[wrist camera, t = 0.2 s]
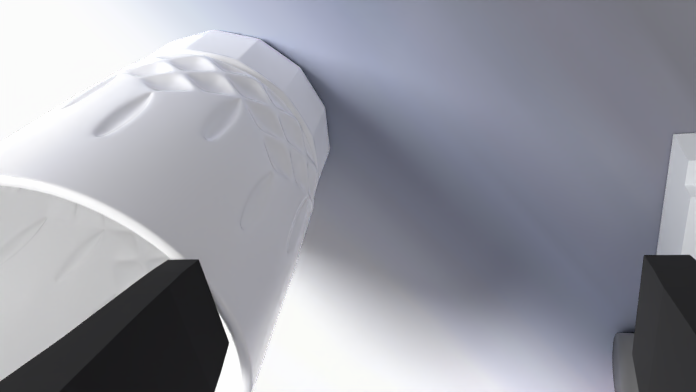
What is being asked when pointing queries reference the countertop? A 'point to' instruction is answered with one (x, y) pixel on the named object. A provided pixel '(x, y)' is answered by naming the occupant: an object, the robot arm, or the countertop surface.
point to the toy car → (666, 240)
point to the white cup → (163, 193)
